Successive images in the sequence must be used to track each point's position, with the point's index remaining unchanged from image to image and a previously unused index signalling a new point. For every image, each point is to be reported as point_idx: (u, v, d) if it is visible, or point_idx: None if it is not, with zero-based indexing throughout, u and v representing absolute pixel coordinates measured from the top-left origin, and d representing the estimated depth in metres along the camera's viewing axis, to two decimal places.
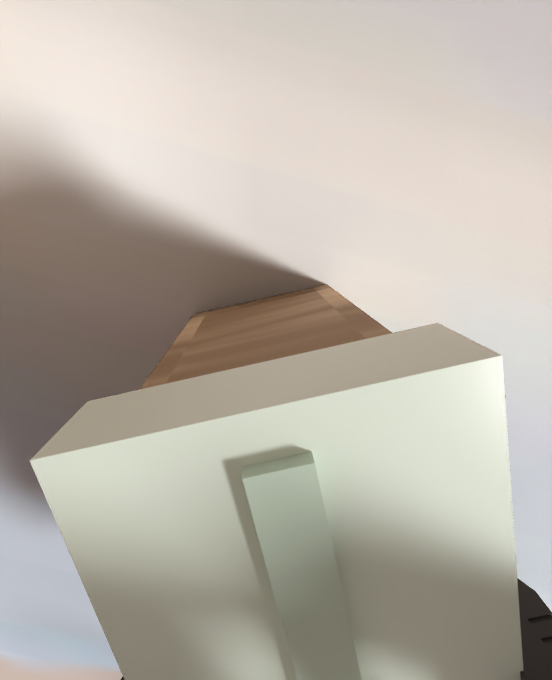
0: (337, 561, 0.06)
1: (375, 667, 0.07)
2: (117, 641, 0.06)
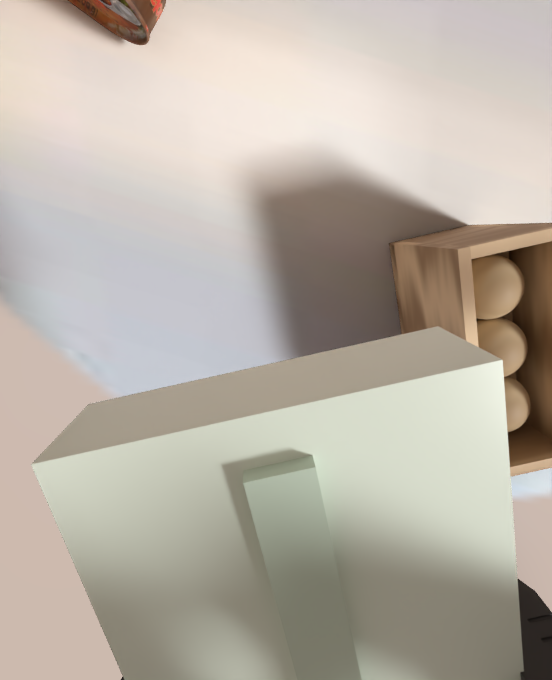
0: (338, 564, 0.06)
1: (375, 670, 0.07)
2: (118, 644, 0.06)
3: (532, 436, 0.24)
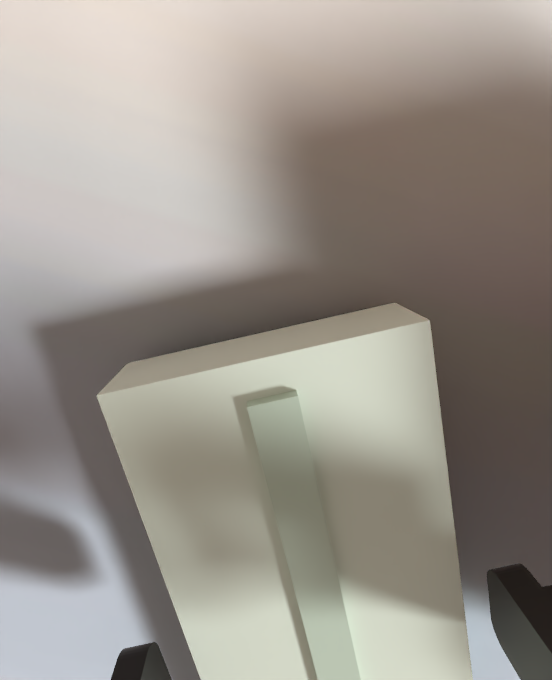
0: (316, 473, 0.08)
1: (346, 559, 0.09)
2: (154, 535, 0.09)
3: None
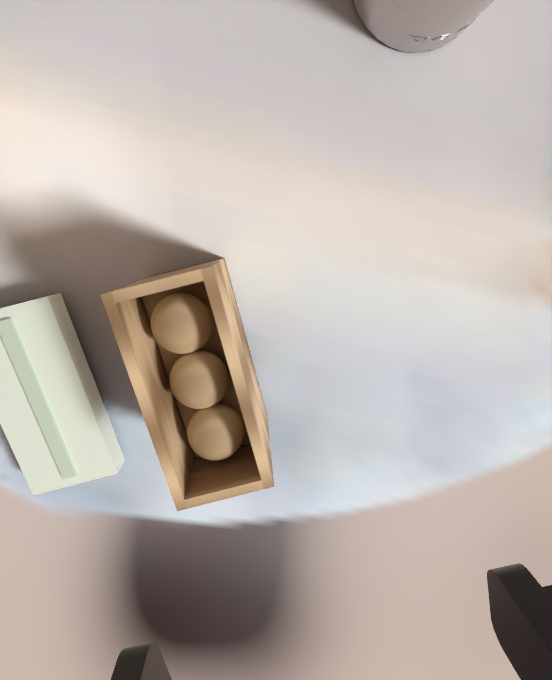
0: (23, 344, 0.28)
1: (39, 374, 0.29)
2: None
3: (250, 462, 0.25)
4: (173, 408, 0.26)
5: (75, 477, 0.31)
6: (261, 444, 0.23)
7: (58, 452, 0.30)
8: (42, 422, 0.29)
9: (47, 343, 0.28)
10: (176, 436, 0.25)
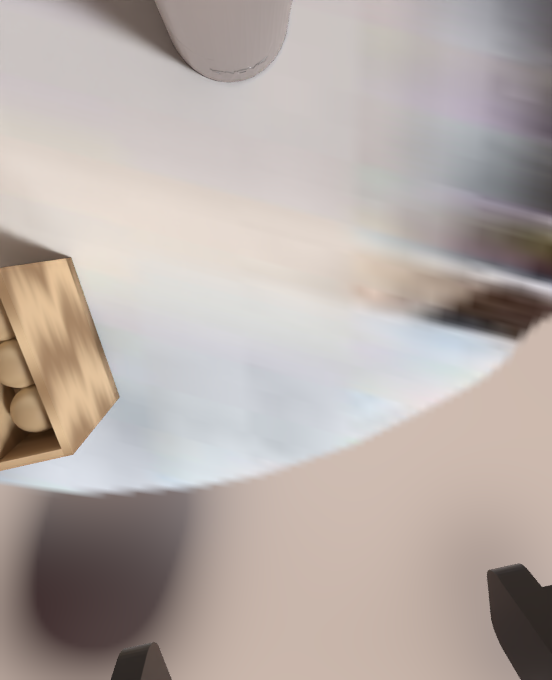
0: None
1: None
2: None
3: None
4: (3, 387, 0.30)
5: None
6: (58, 418, 0.27)
7: None
8: None
9: None
10: (0, 410, 0.29)
